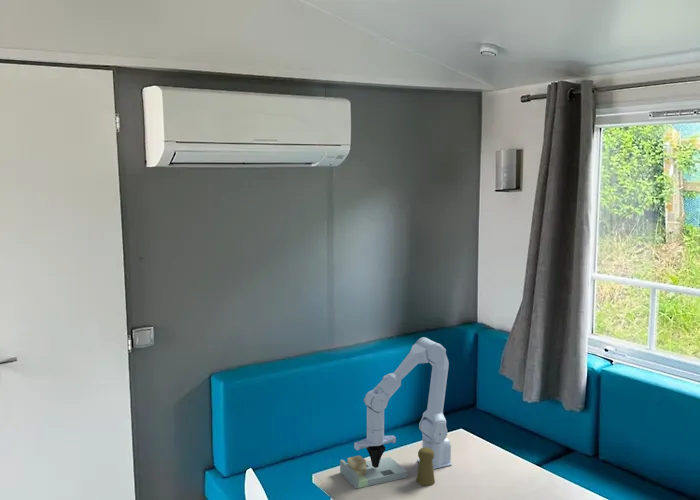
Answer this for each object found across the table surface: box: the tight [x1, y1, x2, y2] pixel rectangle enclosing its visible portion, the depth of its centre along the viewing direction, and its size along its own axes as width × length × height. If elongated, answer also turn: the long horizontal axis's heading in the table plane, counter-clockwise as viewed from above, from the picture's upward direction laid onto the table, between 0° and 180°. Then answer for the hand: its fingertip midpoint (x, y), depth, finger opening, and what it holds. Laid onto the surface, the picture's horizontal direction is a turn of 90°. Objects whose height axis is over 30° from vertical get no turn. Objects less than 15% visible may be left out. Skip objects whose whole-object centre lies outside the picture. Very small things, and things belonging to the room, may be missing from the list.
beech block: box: [347, 455, 367, 476], centre depth 203 cm, size 5×5×5 cm
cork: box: [415, 447, 436, 487], centre depth 201 cm, size 6×6×11 cm
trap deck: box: [339, 456, 408, 490], centre depth 206 cm, size 19×12×4 cm, turn 115°
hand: (375, 466), depth 206 cm, fingers closed
